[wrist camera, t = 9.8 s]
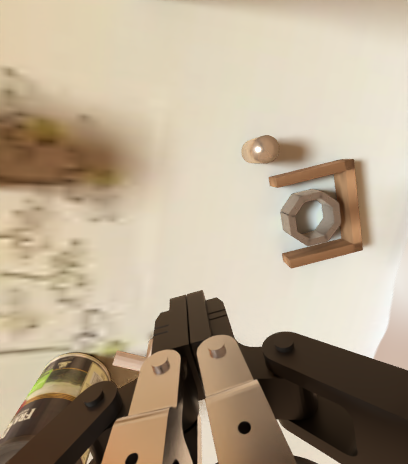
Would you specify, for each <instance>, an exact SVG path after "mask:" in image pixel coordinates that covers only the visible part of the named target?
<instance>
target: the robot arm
mask: <svg viewBox="0 0 408 464" xmlns="http://www.w3.org/2000/svg"><path fill="white" fill-rule="evenodd" d="M154 329H155V330H154V336H153V344H152V351H151V356H150V357H148V358H147V359H146V360H145V361H144V363H143V364H142V366H141V369H140V372H139V376H138V378H137V379H135V380H134V381H132V382H130V383H129V384H127V385H125V386H123V387H121V388H119V389H117V386H116V384H115V383H114V382H112V381H101V382H98V383H95V384H93V385H91V386H90V387H88V388H87V389H85V390H84V391H83V392H82V393H81V394H80V395H78V396H77V397H76V398H75V399H74V400H73V401H72V402H71V403H70V404H69V405H68V406H67V407H66V408H64V409H63V410H62V411H61V412H60V413H59V414H58V415H57V416H56V417H55V418H54V419H53V420H52V421H50V422H49V423H48V424H47V425H46V426H45V427H44V428H43V429H42V430H41V431H40V432H39V433H38V434H36V435H35V436H34V437H33V438H32V439H31V440H30V441H29V442H28V443H27V444H26V445H25V446H24V447H23V448H21V449H20V450H19V451H18V452H17V453H16V454H15V455H14V456H13V457H12V458H11V459H10V460H9V461H7V462H6V463H5V464H75V463H76V462H77V461H78V460H79V459H80V457H81V456H82V455H83V454H84V453H85V452H86V451H87V450H88V448H89V450H90V452H91V454H92V456H93V459H92V460H91V462H90V463H89V464H202V442H201V418H200V415H199V402H198V401H199V400H203V399H205V402H206V407H207V411H208V416H209V421H210V426H211V430H212V435H213V440H214V445H215V449H216V454H217V459H218V463H216V464H317V463H315V462H313V461H310V460H308V459H305V458H302V457H298V456H293V454H292V452H291V450H290V448H289V446H288V444H287V441H286V439H285V437H284V435H283V433H282V431H281V429H280V427H279V424H278V422H277V420H276V419H279V422H280V423H281V425H282V426H283V427H284V428H285V429H287V430H288V431H290V432H291V433H293V434H294V435H296V436H297V437H299V438H301V439H302V440H304V441H305V442H307V443H309V444H310V445H312V446H313V447H315V448H317V449H318V450H320V451H321V452H323V453H325V454H326V455H328V456H329V457H331V458H333V459H334V460H336V461H337V462H339V463H341V464H408V371H407V370H405V369H402V368H399V367H396V366H393V365H390V364H387V363H384V362H380V361H377V360H375V359H372V358H369V357H366V356H363V355H360V354H357V353H354V352H351V351H348V350H345V349H342V348H339V347H336V346H333V345H330V344H327V343H324V342H321V341H318V340H315V339H312V338H309V337H306V336H303V335H300V334H297V333H293V332H278V333H275V334H273V335H271V336H269V337H268V338H267V339H266V340H265V341H264V342H263V345H262V347H248V346H244V345H242V344H240V343H238V342H237V341H236V340H235V338H234V335H233V332H232V329H231V326H230V322H229V319H228V316H227V313H226V310H225V307H224V304H223V302H222V301H221V300H219V299H218V298H213V299H209V300H205V296H204V293H203V290H201V291H197V292H193V293H190V294H187V296H186V295H183V296H179V297H175V298H172V299H170V308H169V311H166V312H162V313H161V314H160V315H159V316H158V318H157V319H156V321H155V328H154ZM205 394H206V397H205Z"/></svg>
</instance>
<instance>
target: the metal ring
mask: <svg viewBox="0 0 408 464" xmlns="http://www.w3.org/2000/svg"><path fill="white" fill-rule="evenodd" d="M312 200H317V201H318V202H320V203H321V204H322V211H323V219H322V221H321V222H320V224H319V225H318V226H317V228H316V229H315V231H311V232H307V233H302V234H301V233H299V232H298V231H297V225H296V218H295V216H296V214H297V213H298V211H299V210H300V208H301V207H302V205H303V204H304V202H308V201H312ZM280 214H281V220H282V226H283V230H284V231H285V232H286V233H288V234H289V235H291V236H293V237H294V238H296V239H297V240H299V241H300V242H302V243H304V244H305V245H307V246H311V245H315V244H319V243H323V242H327V241H329V240H330V238H331V237H332V236H333V234H334V233H335V231H336V230H337V229H338V227H339V226H340V223H341V216H340V207H339V203H338V202H337V201H336V200H335V199H333V198H332V197H330V196H329V195H327V194H326V193H324V192H323V191H318V190H313V189H310V190H305V191H301V192H297V193H293V194H291V196H290V197H289V199H288V200H287V202H286V203H285V205H284V206H283V208H282V209H281V212H280Z"/></svg>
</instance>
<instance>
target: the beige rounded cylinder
mask: <svg viewBox="0 0 408 464" xmlns="http://www.w3.org/2000/svg"><path fill="white" fill-rule="evenodd" d="M278 153H279V144H278V142H277V140H276V139H275V138H274V137H272V136H269V135H265V136H261V137H258V138H255V139H252V140H249V141H247V142H246V143H245V144H244V145H243V147H242V157H243V158H244V160H245V161H247V162H249V163H269V162H272V161H273V160H274V159H275V158H276V157H277V155H278Z"/></svg>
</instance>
